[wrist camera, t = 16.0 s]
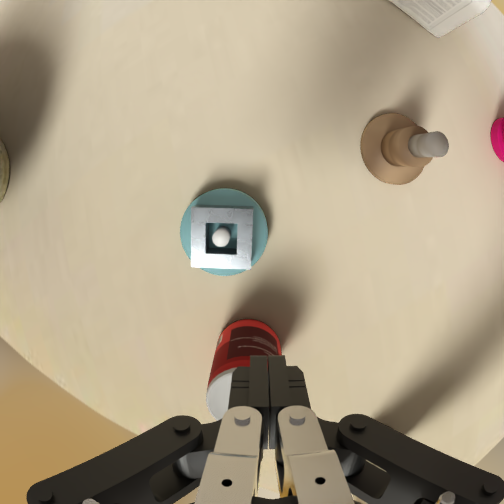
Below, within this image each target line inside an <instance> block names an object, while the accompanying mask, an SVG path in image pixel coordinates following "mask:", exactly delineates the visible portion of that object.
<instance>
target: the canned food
mask: <svg viewBox="0 0 504 504" xmlns="http://www.w3.org/2000/svg"><path fill="white" fill-rule="evenodd" d="M268 355H282V354H281V347H280V342H279V339H278V337H277V335H276V334H275V332H274V331H273V330H272V329H271V328H270V327H269V326H268V325H266V324H265V323H263V322H260V321H258V320H253V319H243V320H239V321H236V322H234V323H232V324H230V325H229V326H228V327H227V328H226V329H225V330H224V331H223V332H222V333H221V335H220V337H219V339H218V342H217V347H216V351H215V355H214V360H213V364H212V369H211V373H210V377H209V382H208V388H207V394H206V402H207V407H208V409H209V412H210V413H211V415H212V416H213V417H214V418H215V419H216V420H217V421H218V420H220V419H222V418H223V415H224V413H225V412H226V411H227V410H228V404H229V396H230V388H231V380H232V373H233V372H234V370H235V369H236V368H237V367H238V366H245V367H250V356H267V371H268Z"/></svg>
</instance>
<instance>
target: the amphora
mask: <svg viewBox="0 0 504 504" xmlns="http://www.w3.org/2000/svg"><path fill="white" fill-rule="evenodd" d="M9 173H10V172H9V158H8V153H7V151H6V149H5V146H4V144H3V142H2V141H1V140H0V202H1V201H2V199H3V197H4V194H5V192H6V189H7V185H8V180H9Z"/></svg>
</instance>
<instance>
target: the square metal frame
mask: <svg viewBox="0 0 504 504" xmlns="http://www.w3.org/2000/svg"><path fill="white" fill-rule="evenodd" d="M253 207H254V206H231V205H194V206H193V207H191V267H202V268H224V269H247V270H251V258H252V232H253ZM209 223H234V224H238V226H237V249H234V248H209Z"/></svg>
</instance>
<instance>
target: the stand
mask: <svg viewBox="0 0 504 504" xmlns="http://www.w3.org/2000/svg"><path fill="white" fill-rule="evenodd" d="M448 148H449V144H448V140H447V138H446V136H445V135H444V134H443V133H441V132H438V131H436V132H430V133H428V132H427V131H426V130H425V129H424V128H422V127H419V126H417V125H416V124H415V123H414V122H413V121H412V120H410V119H409V118H407V117H405V116H403V115H400V114H396V113H388V114H384V115H381V116H378V117H376V118H375V119H373V120H372V121H371V122H370V123H369V124H368V125H367V126H366V128H365V129H364V131H363V134H362V138H361V154H362V158H363V161H364V163H365V165H366V167H367V168H368V170H369V171H370V172H371V173H372V174H373V175H374V176H375V177H376V178H377V179H379V180H381V181H383V182H385V183H389V184H395V185H401V184H406V183H409V182H411V181H413V180H414V179H415V178H417V177H418V176H419V174H420V173H421V172H422V170H423V168H424V166H425V165H427V164H428V163H429V162H430V161H431V160H432V158H433V157H443V156H444V155H446V153H447V152H448Z"/></svg>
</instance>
